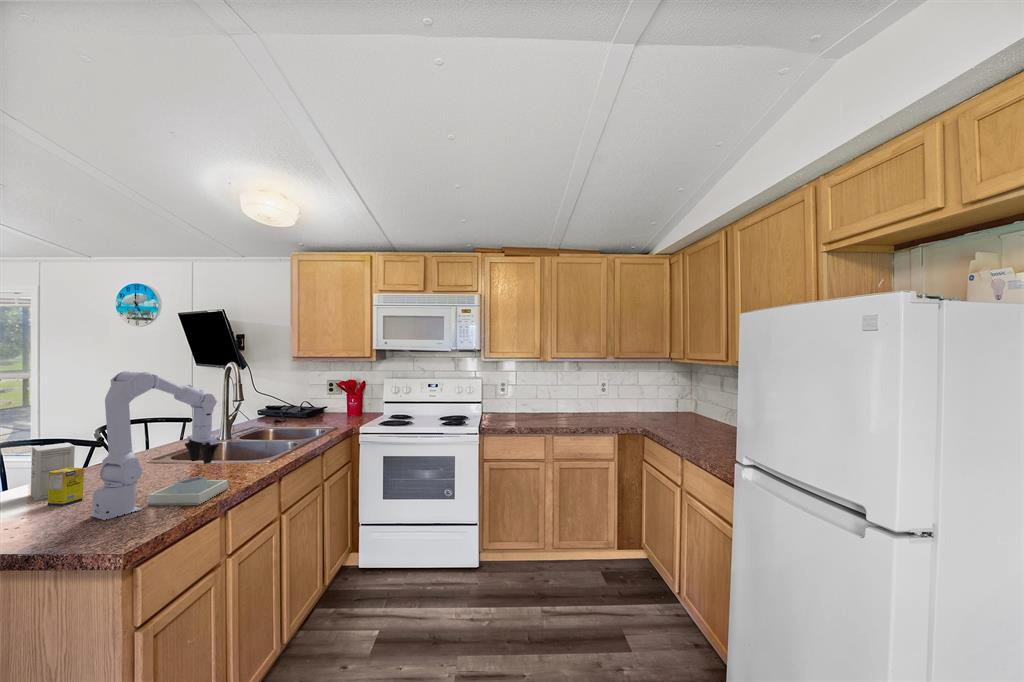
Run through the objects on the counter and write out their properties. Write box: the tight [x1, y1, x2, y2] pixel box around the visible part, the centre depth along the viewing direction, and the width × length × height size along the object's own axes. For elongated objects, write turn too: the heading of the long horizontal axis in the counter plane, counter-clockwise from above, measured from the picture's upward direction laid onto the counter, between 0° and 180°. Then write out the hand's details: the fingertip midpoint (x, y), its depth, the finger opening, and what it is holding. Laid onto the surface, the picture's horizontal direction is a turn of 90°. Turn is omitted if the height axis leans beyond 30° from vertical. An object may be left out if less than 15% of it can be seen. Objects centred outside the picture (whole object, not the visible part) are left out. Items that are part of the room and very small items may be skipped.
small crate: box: [173, 476, 208, 494], centre depth 149 cm, size 8×5×5 cm, turn 156°
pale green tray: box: [147, 479, 229, 506], centre depth 149 cm, size 16×16×4 cm
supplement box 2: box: [30, 442, 76, 501], centre depth 150 cm, size 10×9×17 cm
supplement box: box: [47, 467, 85, 507], centre depth 142 cm, size 6×6×11 cm
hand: (201, 462), depth 160 cm, fingers open, 7 cm apart
